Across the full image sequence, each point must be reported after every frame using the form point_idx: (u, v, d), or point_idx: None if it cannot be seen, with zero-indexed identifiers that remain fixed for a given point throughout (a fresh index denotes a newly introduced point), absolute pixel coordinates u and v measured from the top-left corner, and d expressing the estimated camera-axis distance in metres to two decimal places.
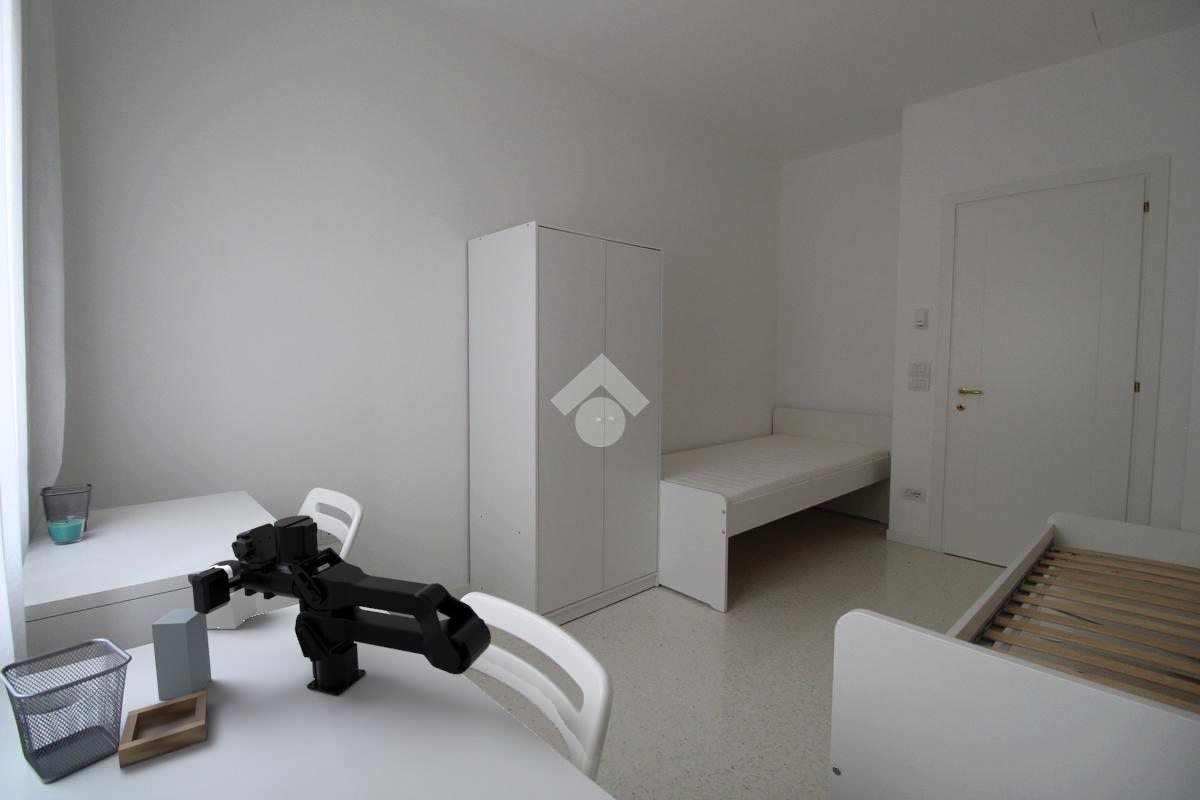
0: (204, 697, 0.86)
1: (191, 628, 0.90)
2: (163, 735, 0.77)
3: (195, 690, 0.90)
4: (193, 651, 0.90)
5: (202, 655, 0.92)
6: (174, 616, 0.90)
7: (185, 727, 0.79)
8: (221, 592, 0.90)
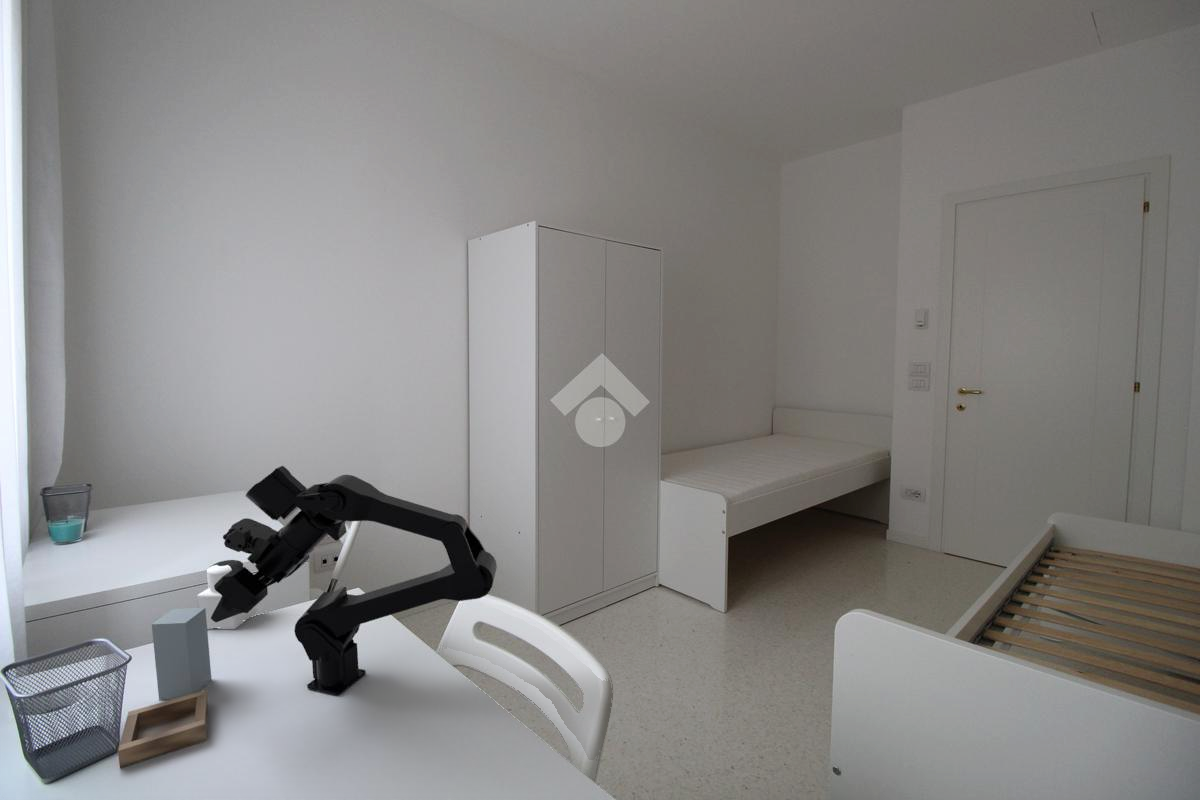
0: (204, 697, 0.86)
1: (191, 628, 0.90)
2: (163, 735, 0.77)
3: (195, 690, 0.90)
4: (193, 651, 0.90)
5: (202, 655, 0.92)
6: (175, 616, 0.90)
7: (185, 727, 0.79)
8: (252, 581, 0.84)
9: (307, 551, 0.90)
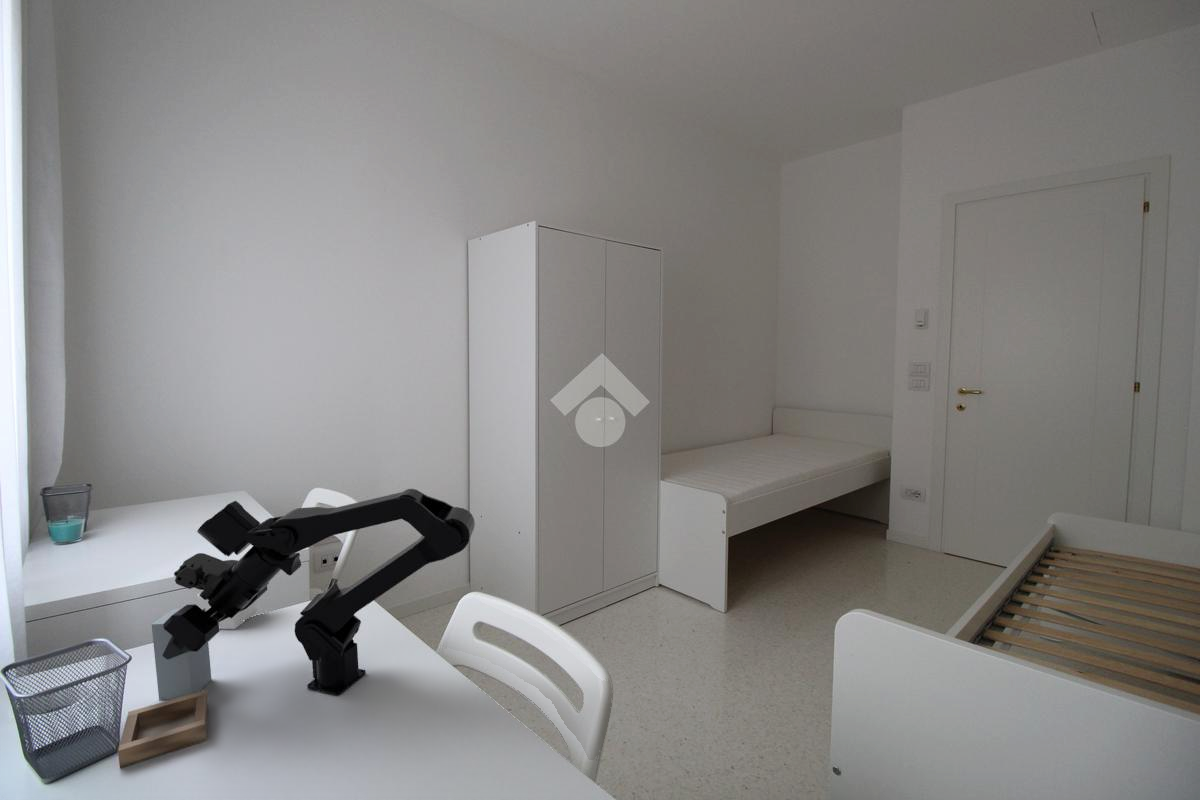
0: (204, 697, 0.86)
1: None
2: (163, 735, 0.77)
3: (195, 690, 0.90)
4: (193, 651, 0.90)
5: (202, 655, 0.92)
6: None
7: (185, 727, 0.79)
8: (202, 619, 0.84)
9: (260, 586, 0.90)
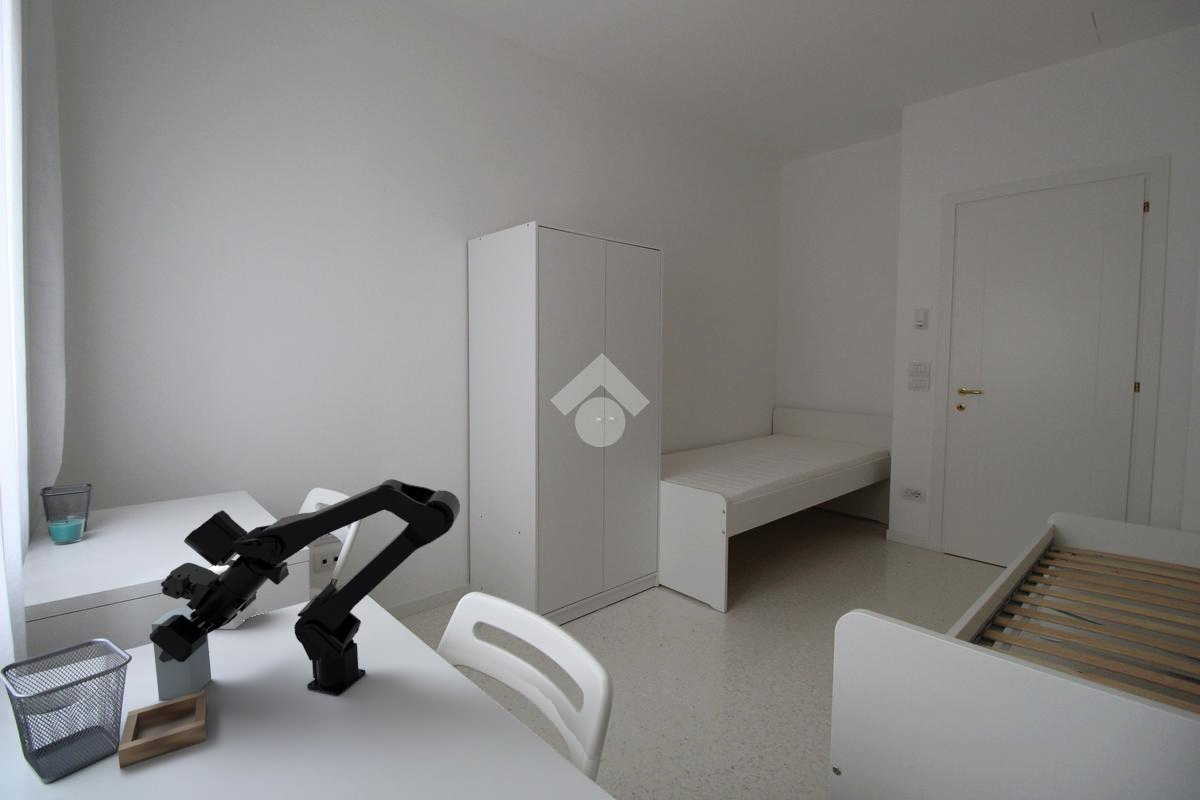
0: (204, 697, 0.86)
1: None
2: (163, 735, 0.77)
3: (195, 690, 0.90)
4: None
5: (202, 655, 0.92)
6: None
7: (185, 727, 0.79)
8: (189, 629, 0.84)
9: (248, 595, 0.90)
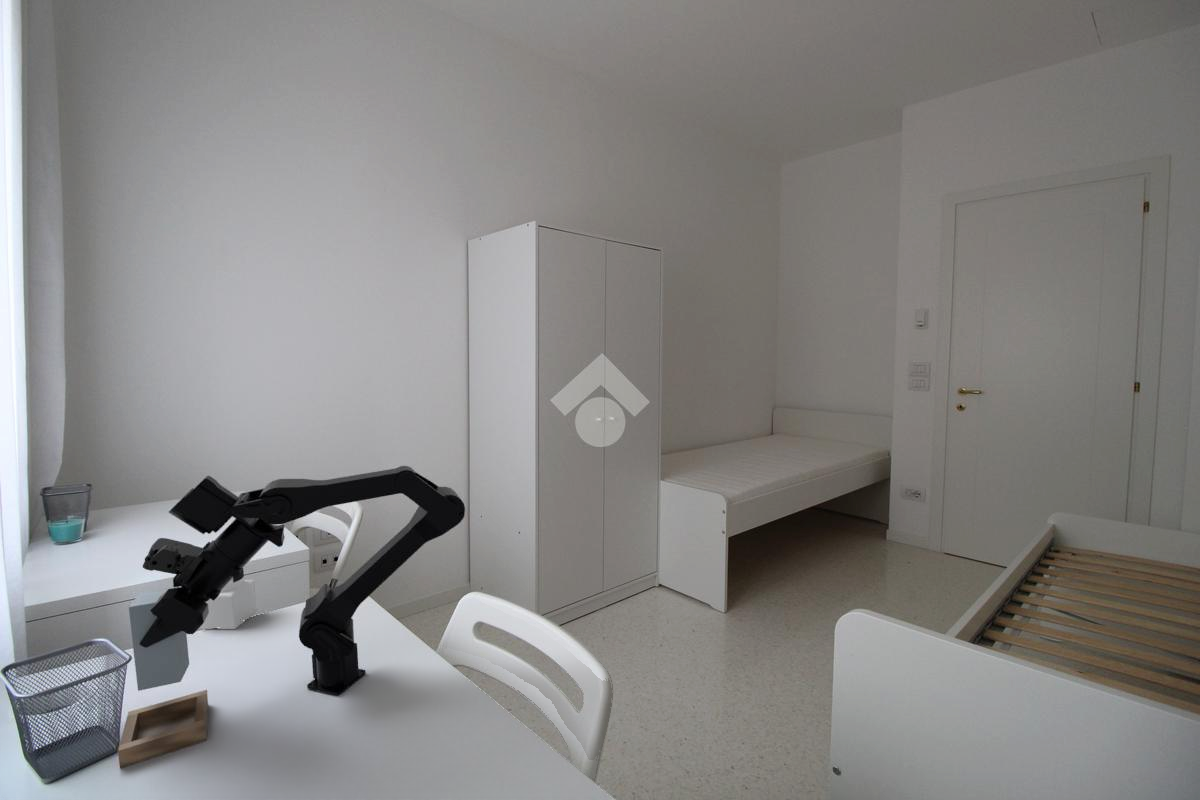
0: (204, 697, 0.86)
1: None
2: (163, 735, 0.77)
3: (181, 674, 0.83)
4: None
5: (183, 637, 0.85)
6: (151, 597, 0.82)
7: (185, 727, 0.79)
8: (193, 600, 0.78)
9: (245, 562, 0.85)
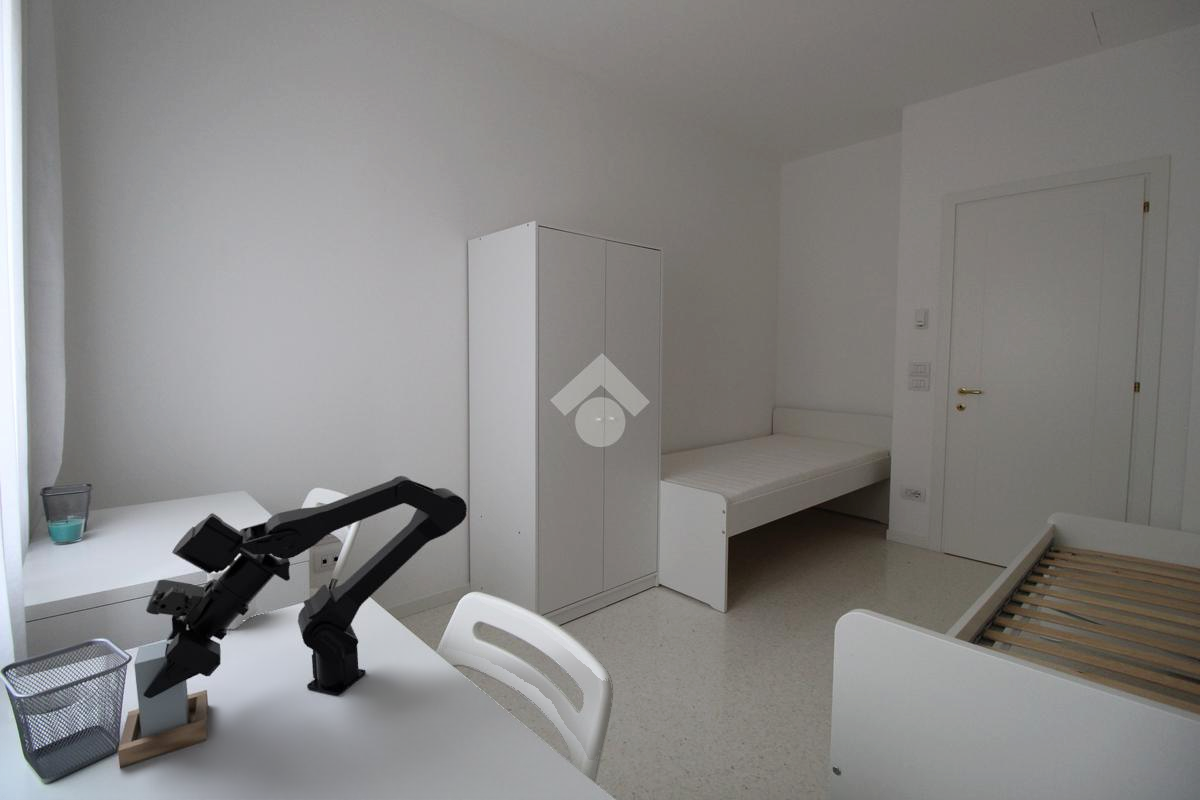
0: (204, 697, 0.86)
1: None
2: (163, 735, 0.77)
3: None
4: (184, 684, 0.81)
5: (185, 689, 0.83)
6: (153, 651, 0.80)
7: (185, 727, 0.79)
8: (206, 642, 0.77)
9: (252, 599, 0.85)
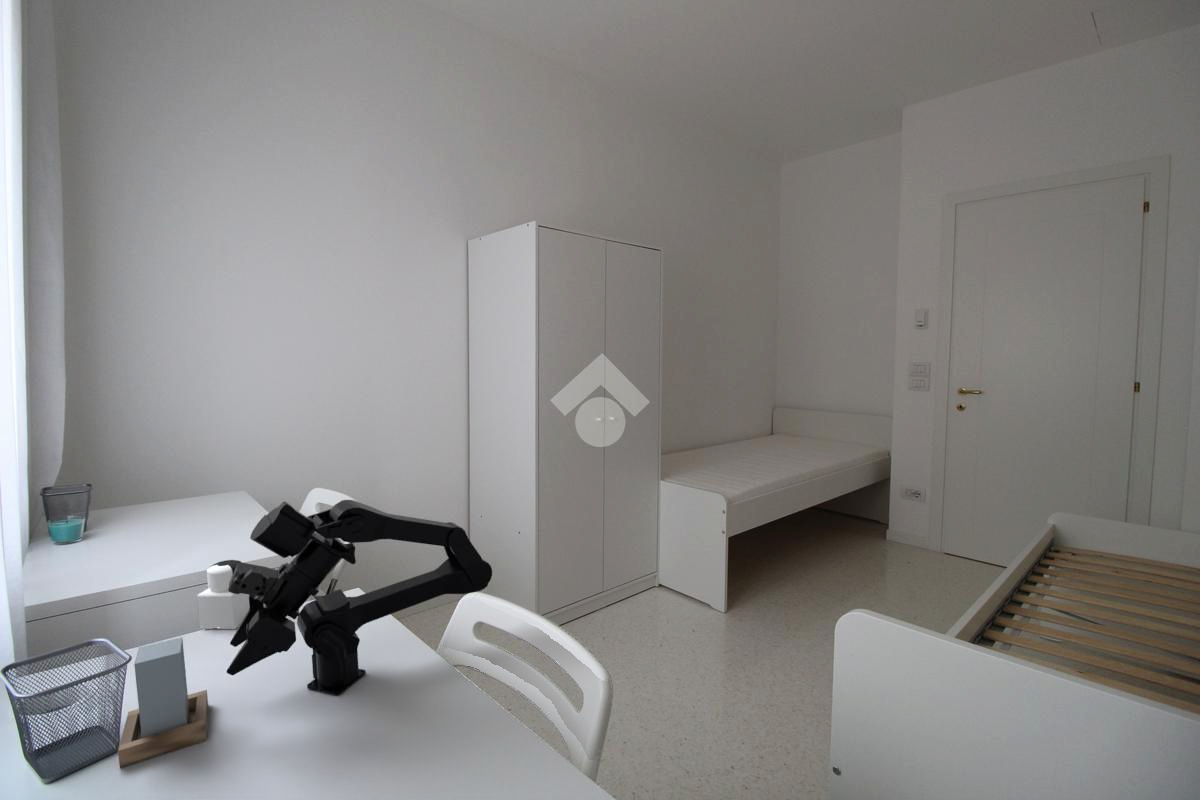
0: (204, 697, 0.86)
1: (181, 658, 0.81)
2: (163, 735, 0.77)
3: None
4: (184, 684, 0.81)
5: (185, 689, 0.83)
6: (153, 651, 0.80)
7: (185, 727, 0.79)
8: (283, 619, 0.82)
9: (322, 581, 0.90)
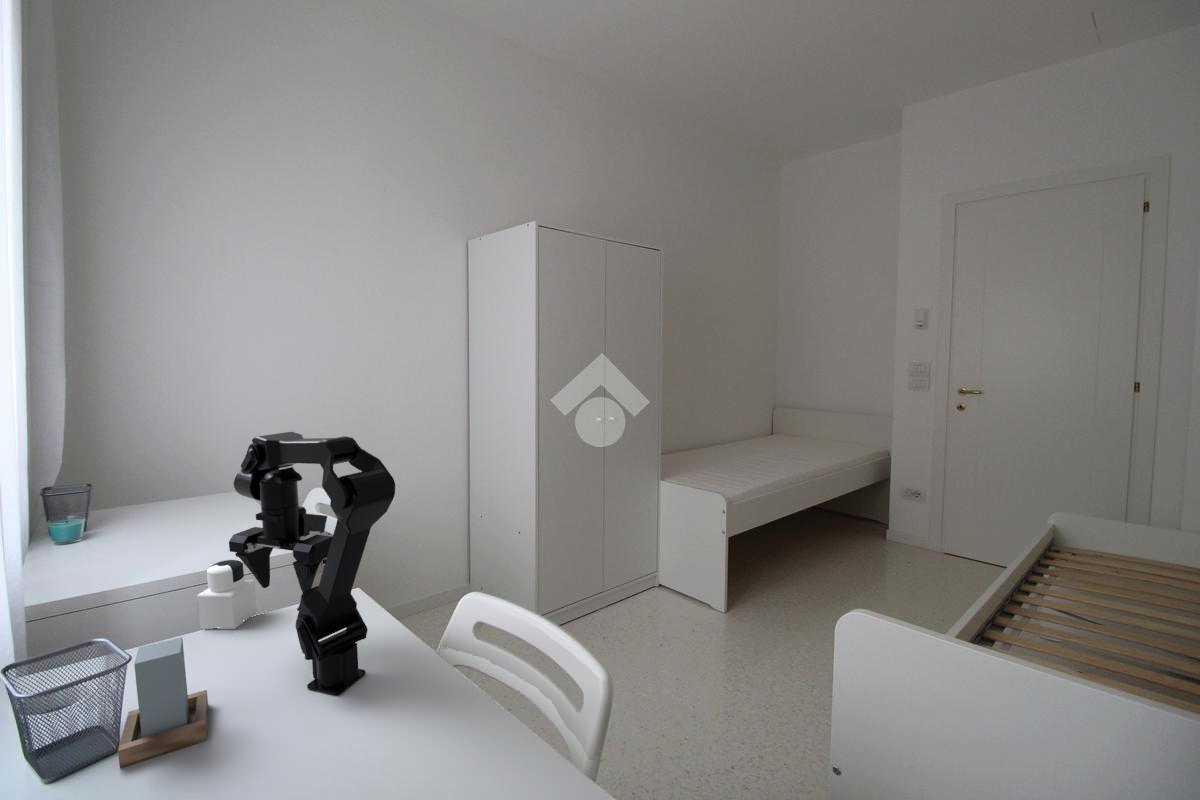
0: (204, 697, 0.86)
1: (181, 658, 0.81)
2: (163, 735, 0.77)
3: None
4: (184, 684, 0.81)
5: (185, 689, 0.83)
6: (153, 651, 0.80)
7: (185, 727, 0.79)
8: (251, 532, 1.01)
9: (261, 507, 0.97)
